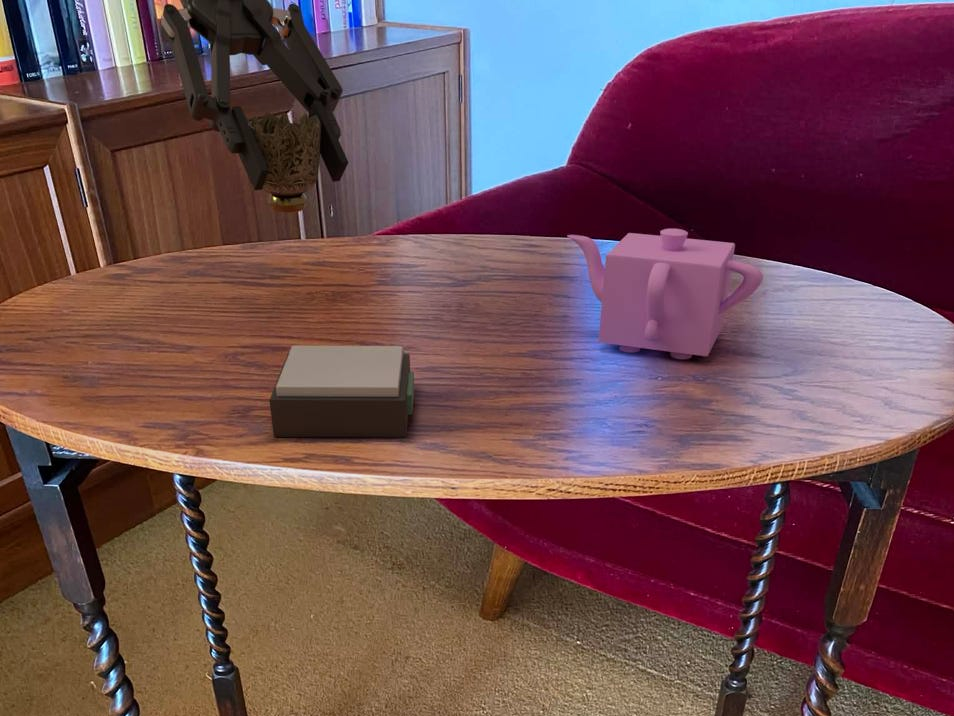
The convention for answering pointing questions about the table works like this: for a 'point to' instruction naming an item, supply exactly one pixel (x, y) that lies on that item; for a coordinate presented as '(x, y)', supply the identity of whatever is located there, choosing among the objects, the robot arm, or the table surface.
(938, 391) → the table surface
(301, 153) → the cup
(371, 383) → the scale
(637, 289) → the teapot
